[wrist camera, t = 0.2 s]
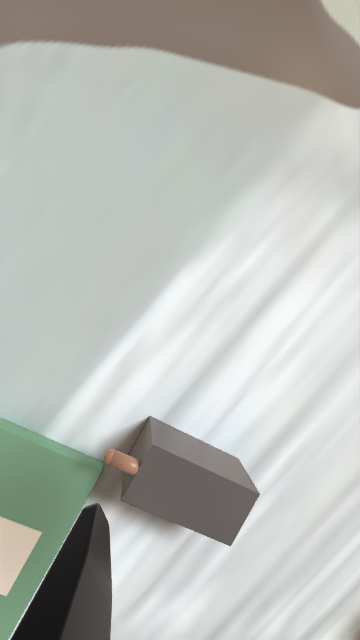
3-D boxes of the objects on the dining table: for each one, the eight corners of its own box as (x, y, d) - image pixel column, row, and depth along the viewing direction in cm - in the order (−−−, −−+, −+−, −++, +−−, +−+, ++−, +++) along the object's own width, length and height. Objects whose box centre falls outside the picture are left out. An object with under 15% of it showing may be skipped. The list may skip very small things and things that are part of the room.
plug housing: (214, 501, 25) (230, 546, 20) (97, 449, 23) (87, 486, 18) (238, 458, 25) (259, 494, 20) (123, 403, 23) (119, 428, 18)
